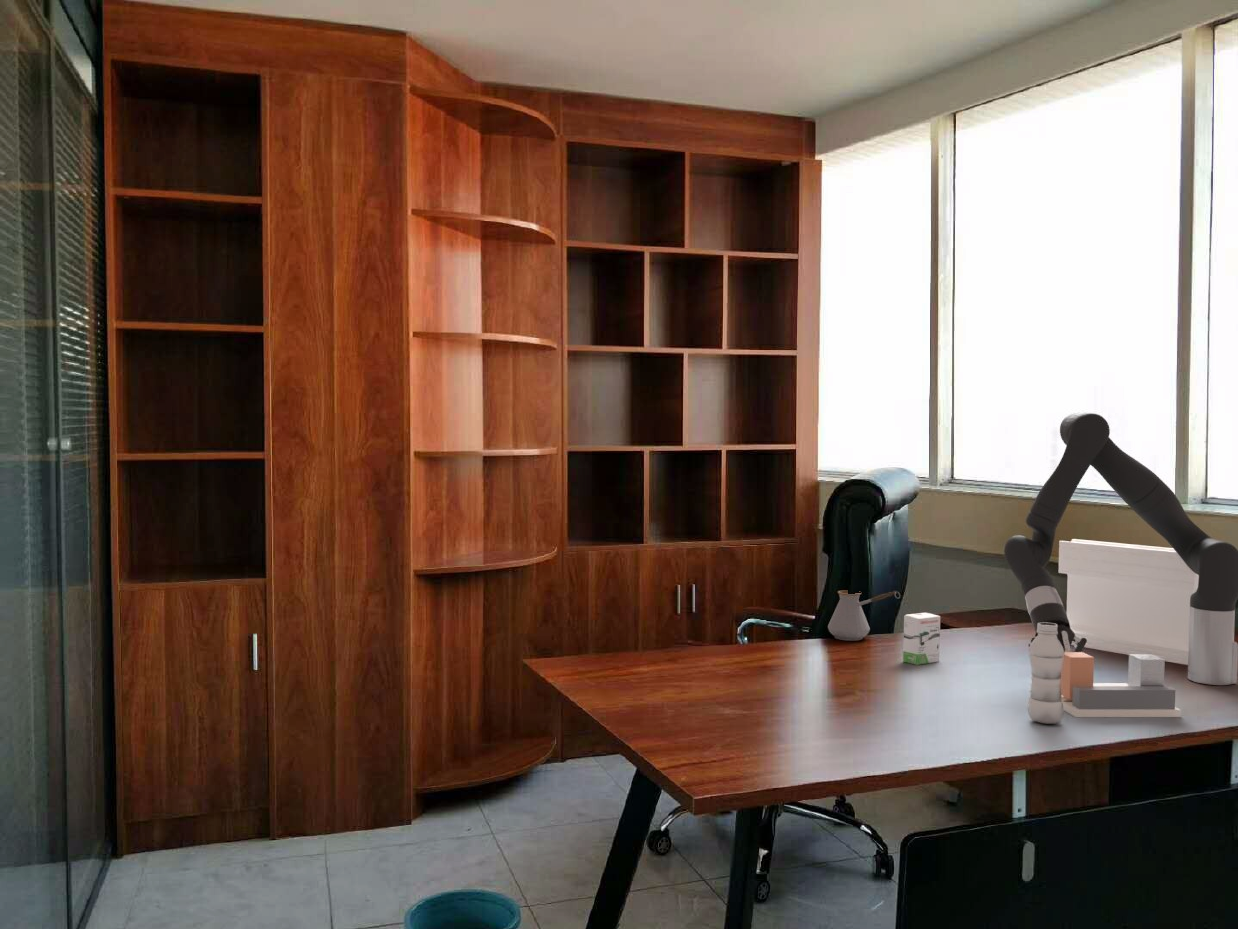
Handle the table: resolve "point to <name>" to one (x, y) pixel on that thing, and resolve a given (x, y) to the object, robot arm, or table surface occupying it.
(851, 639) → the coffee pot
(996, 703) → the table surface
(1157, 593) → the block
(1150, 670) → the brushed metal pillar
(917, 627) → the ink box
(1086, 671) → the tall salmon pillar
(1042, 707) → the plastic bottle
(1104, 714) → the plate
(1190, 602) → the robot arm
